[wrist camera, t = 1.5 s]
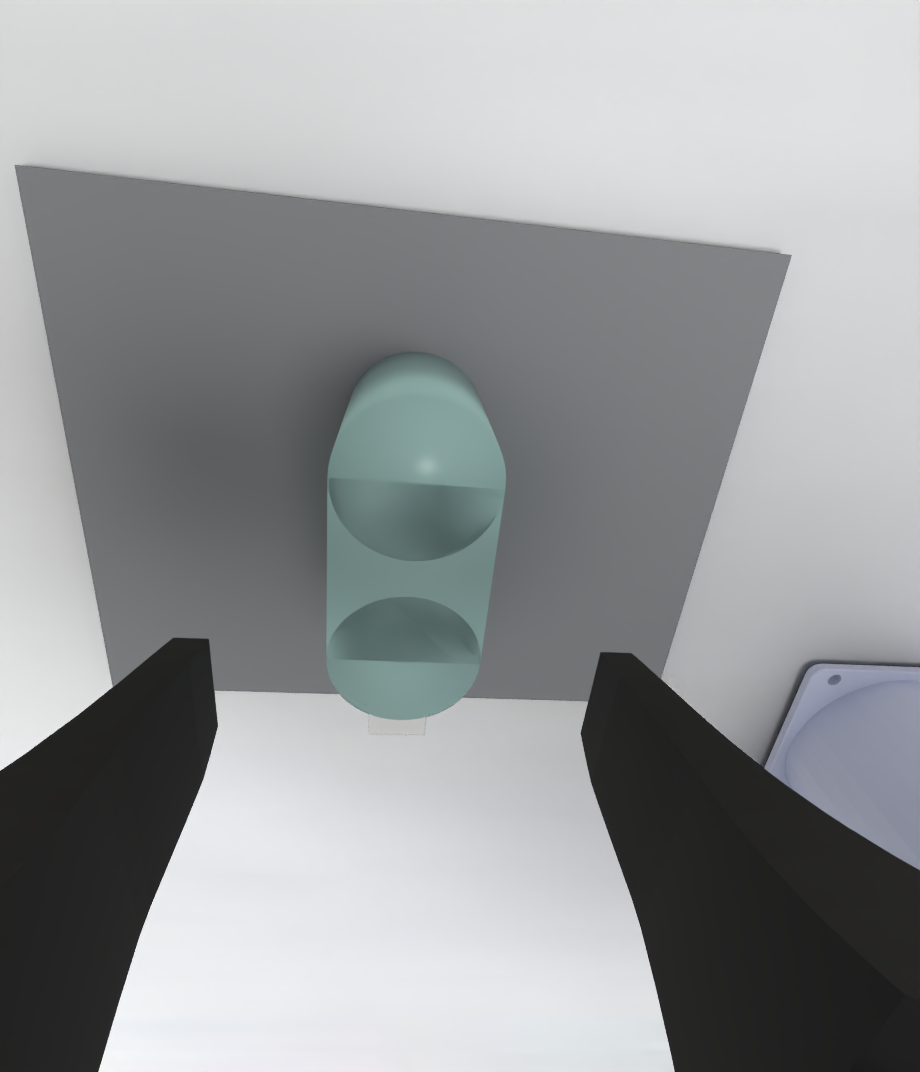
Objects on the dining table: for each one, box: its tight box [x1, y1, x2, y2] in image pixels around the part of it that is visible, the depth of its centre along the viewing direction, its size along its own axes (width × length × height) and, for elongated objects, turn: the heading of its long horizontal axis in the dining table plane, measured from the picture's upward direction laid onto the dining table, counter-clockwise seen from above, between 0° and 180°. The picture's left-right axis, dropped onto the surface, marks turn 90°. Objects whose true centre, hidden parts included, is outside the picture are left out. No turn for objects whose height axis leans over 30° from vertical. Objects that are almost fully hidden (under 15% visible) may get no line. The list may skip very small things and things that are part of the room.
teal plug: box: [326, 352, 506, 735], centre depth 18 cm, size 11×4×5 cm, turn 174°
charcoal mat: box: [15, 165, 792, 701], centre depth 20 cm, size 20×16×1 cm
